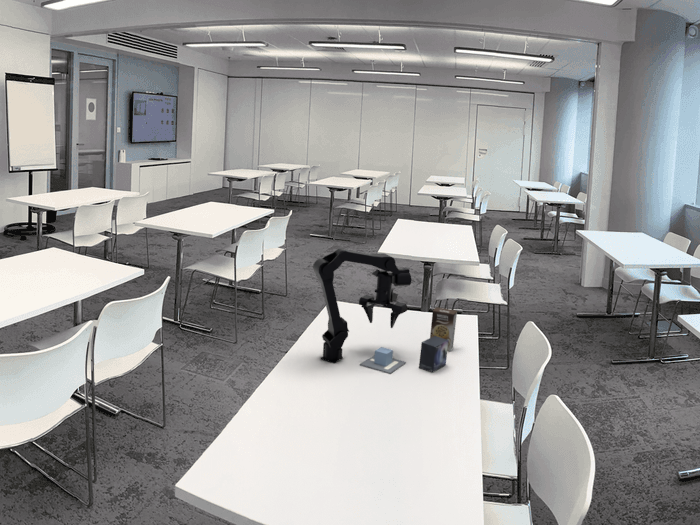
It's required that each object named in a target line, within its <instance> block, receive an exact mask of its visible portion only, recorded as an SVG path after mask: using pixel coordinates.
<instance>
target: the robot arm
mask: <svg viewBox="0 0 700 525" xmlns="http://www.w3.org/2000/svg"><path fill="white" fill-rule="evenodd" d="M344 262H349V263H356V264H360V265H361V264H363V265H368V266H372V267H375V268H378V269H376V270H374V271H373V272H372V276H374V277H376V288H375V289H374V293H375V297H374V296H371V295H368V294H366V295H363V296H361V297H359V299H358V305H359V306H361V308H363V310H364V312H365V314H366V316H367V318H368V322H369V323H370V324H372V323H373V319H374V318H373V317H374V307H375V306H377V307H383V308H385V309H386V308H387V309H391V312H390V325H389V326H390V329H394V326H395V323H396V322H397V319H398V318H399V316H400V315H402V314H404V313H406V312H407V311H408V305H407V304H406V303H403V302H399V301H398V302H397V299H398V296H399V295H398V293H395V292H394V289H393V288H392V286H394V287H408V286H409V287H410V285H411V284H412V280H413V279H412V276H411V272H410V269H409V268H406V267H405V268H398V266H397V264H396V260H395V258H394V257H393V256H391V255H388V254H386V253H381V252H380V253H371V254H369V253H365V252H359V251H355V250H354V251H353V250H348V249H345V248H337V249H336V250H335V251H333V252H330V253H329V254H326V255H324V256H323V257H322V258H318V259H317V260H315V261H314V263H313V265H312V267H313V268H312V270H314V273H315V276H316V278H317V279H318V281H319V283H320V286H321V290H322V294H323V298H324V303H325V307H326V312H327V316H328V321H327V330H326V331H325V332H323V334H321V337H322V340H323V341H324V342H323V348H322V349H323V350H322V351H323V352H322V356H321V357H320V360H323V361H327V362H329V363H333V364H336V363H337V362H339V361H341V360H343V359H344V356H343V348H342V347H343V346H344V343H345V341H346V340H347V338H348V337H349V332H350V330H349V327H348V321H347V320H345V319H344V317H342V316H341V314H340V310H339V304H338V300H337V295H336V291H335V287H334V278H335V271H336V270H337V269H339V268H340V267H341V265H343V263H344ZM394 302H396V303H394Z"/></svg>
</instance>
